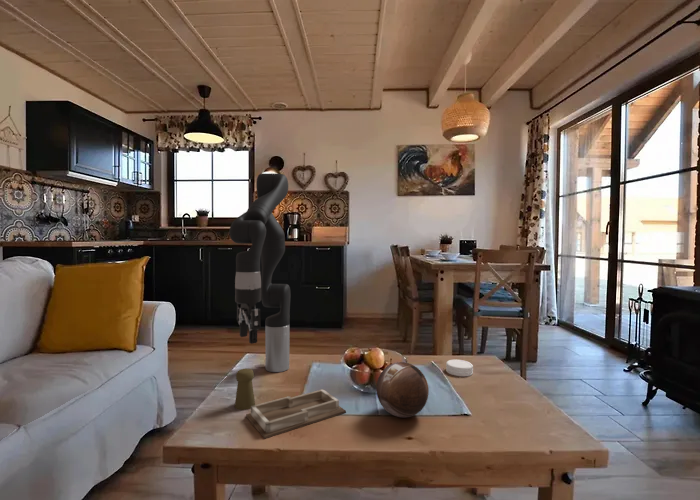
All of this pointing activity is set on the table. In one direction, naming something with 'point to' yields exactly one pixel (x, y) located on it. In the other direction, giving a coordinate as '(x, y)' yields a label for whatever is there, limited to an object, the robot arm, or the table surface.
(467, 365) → the white disc
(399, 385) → the wooden sphere
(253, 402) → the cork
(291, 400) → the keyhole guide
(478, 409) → the table surface
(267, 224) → the robot arm
